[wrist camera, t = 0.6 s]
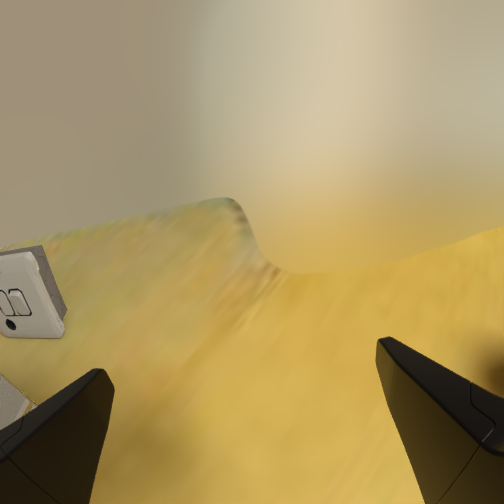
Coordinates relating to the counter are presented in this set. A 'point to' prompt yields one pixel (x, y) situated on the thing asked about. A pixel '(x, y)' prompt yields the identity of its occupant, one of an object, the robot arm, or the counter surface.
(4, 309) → the electrical switch
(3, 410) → the grey tray
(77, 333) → the counter surface
